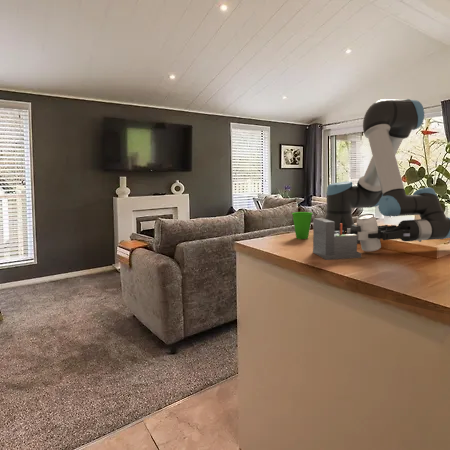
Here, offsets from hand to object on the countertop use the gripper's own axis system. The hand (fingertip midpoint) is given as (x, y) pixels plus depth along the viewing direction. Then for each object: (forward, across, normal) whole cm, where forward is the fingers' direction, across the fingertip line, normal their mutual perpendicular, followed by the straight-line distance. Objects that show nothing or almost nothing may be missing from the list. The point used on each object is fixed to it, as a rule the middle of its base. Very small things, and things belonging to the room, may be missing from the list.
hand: (352, 234), depth 121 cm
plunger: (+3, 0, -4) cm, 5 cm away
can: (-7, 0, -6) cm, 9 cm away
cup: (+5, +34, -7) cm, 35 cm away
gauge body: (+6, 0, -7) cm, 9 cm away
